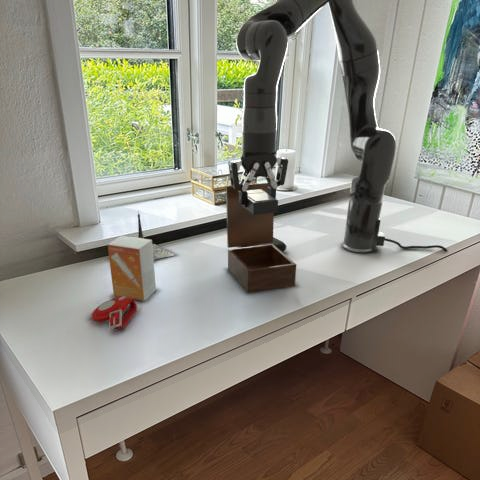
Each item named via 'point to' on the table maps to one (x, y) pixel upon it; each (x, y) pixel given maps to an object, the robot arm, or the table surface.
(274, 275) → the case
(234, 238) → the cover
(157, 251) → the eiffel tower figurine
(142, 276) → the small box
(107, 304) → the tracker holder
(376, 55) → the robot arm
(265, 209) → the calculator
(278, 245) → the carrying case
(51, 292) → the table surface
